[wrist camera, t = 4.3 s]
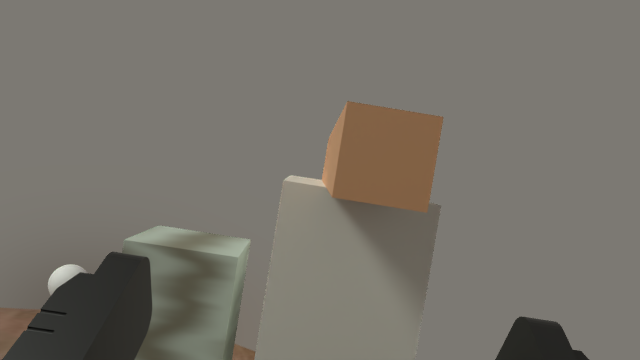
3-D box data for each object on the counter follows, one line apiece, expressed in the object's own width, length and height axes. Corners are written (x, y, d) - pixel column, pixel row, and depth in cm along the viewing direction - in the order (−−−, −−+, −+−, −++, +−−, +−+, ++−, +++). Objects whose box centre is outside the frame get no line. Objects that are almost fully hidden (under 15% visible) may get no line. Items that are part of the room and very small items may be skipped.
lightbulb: (58, 341, 74) (68, 271, 74) (32, 330, 77) (42, 262, 77) (91, 331, 80) (100, 267, 80) (66, 321, 83) (75, 258, 82)
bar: (427, 212, 20) (443, 117, 20) (331, 197, 20) (347, 101, 20) (363, 186, 46) (370, 145, 46) (321, 180, 46) (328, 138, 46)
